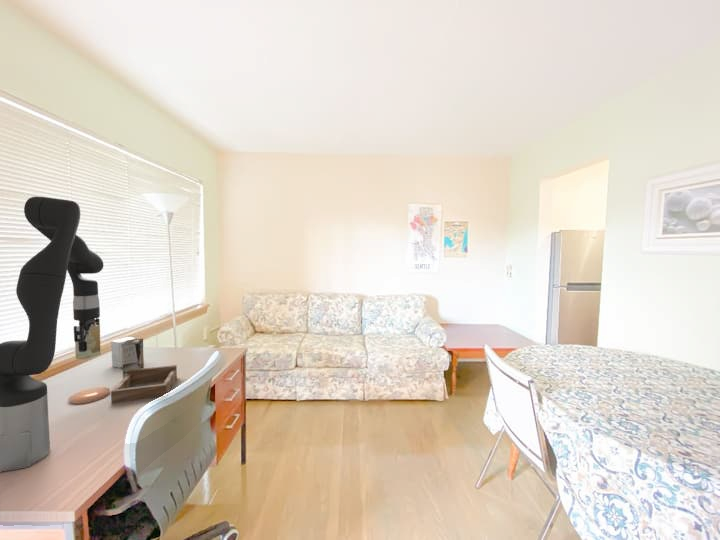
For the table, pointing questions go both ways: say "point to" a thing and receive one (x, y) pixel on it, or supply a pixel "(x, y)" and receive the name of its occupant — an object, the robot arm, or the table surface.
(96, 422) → the table surface
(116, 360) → the small box
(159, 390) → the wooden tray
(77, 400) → the peach half ellipsoid
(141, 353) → the coffee box
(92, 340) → the skincare box
